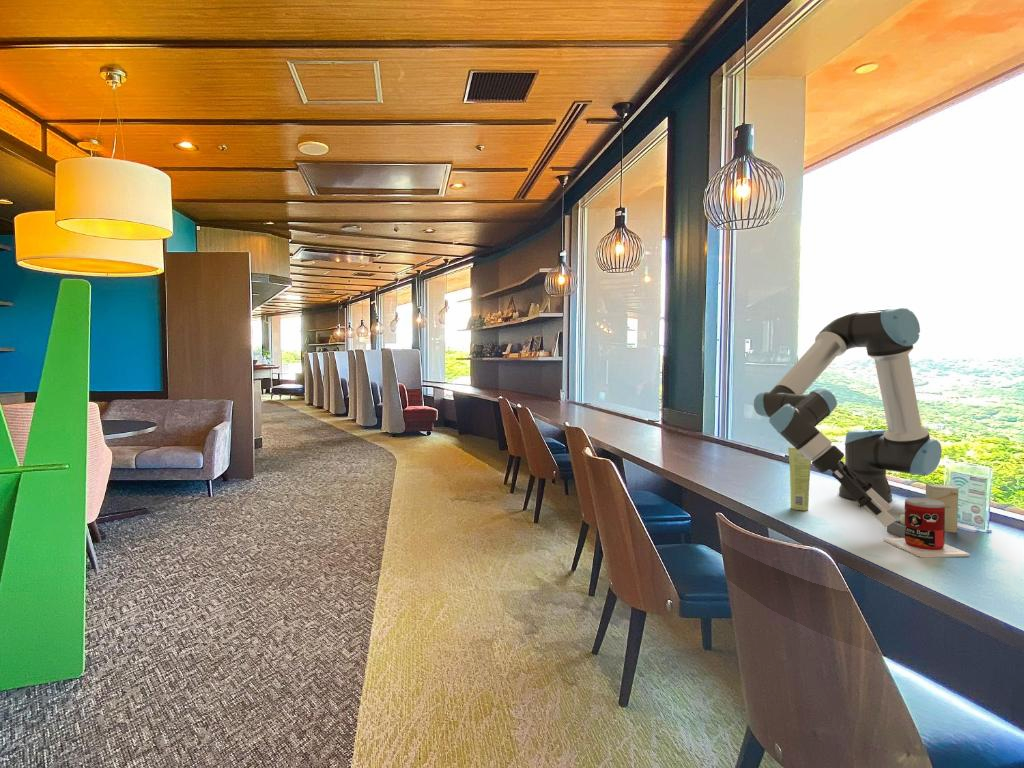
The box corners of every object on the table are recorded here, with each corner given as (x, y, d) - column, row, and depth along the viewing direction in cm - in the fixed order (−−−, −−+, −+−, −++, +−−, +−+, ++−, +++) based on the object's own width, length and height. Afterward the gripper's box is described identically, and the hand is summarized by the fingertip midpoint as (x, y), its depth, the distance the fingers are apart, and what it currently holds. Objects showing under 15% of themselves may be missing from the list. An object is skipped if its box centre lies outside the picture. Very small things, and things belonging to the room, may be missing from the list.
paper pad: (928, 539, 138) (928, 537, 138) (969, 556, 126) (969, 553, 126) (883, 540, 138) (883, 538, 138) (920, 557, 126) (920, 554, 126)
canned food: (897, 542, 134) (897, 499, 134) (917, 538, 137) (917, 495, 137) (931, 552, 127) (931, 506, 127) (951, 547, 130) (952, 502, 130)
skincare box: (930, 530, 145) (930, 486, 145) (924, 526, 149) (924, 483, 149) (958, 533, 143) (959, 488, 143) (951, 528, 147) (952, 484, 147)
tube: (795, 505, 173) (795, 445, 172) (812, 508, 169) (812, 447, 168) (787, 508, 169) (787, 447, 168) (804, 512, 165) (804, 449, 164)
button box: (912, 530, 146) (912, 519, 145) (932, 539, 139) (933, 527, 138) (886, 531, 145) (887, 520, 145) (906, 539, 138) (906, 528, 138)
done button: (911, 525, 144) (911, 514, 144) (922, 529, 140) (922, 518, 140) (896, 525, 144) (896, 514, 144) (907, 530, 140) (908, 518, 140)
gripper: (813, 455, 155) (874, 513, 148) (806, 470, 134) (878, 538, 127) (834, 438, 152) (898, 497, 145) (831, 450, 131) (906, 520, 124)
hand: (889, 516), depth 136 cm, fingers open, 13 cm apart
